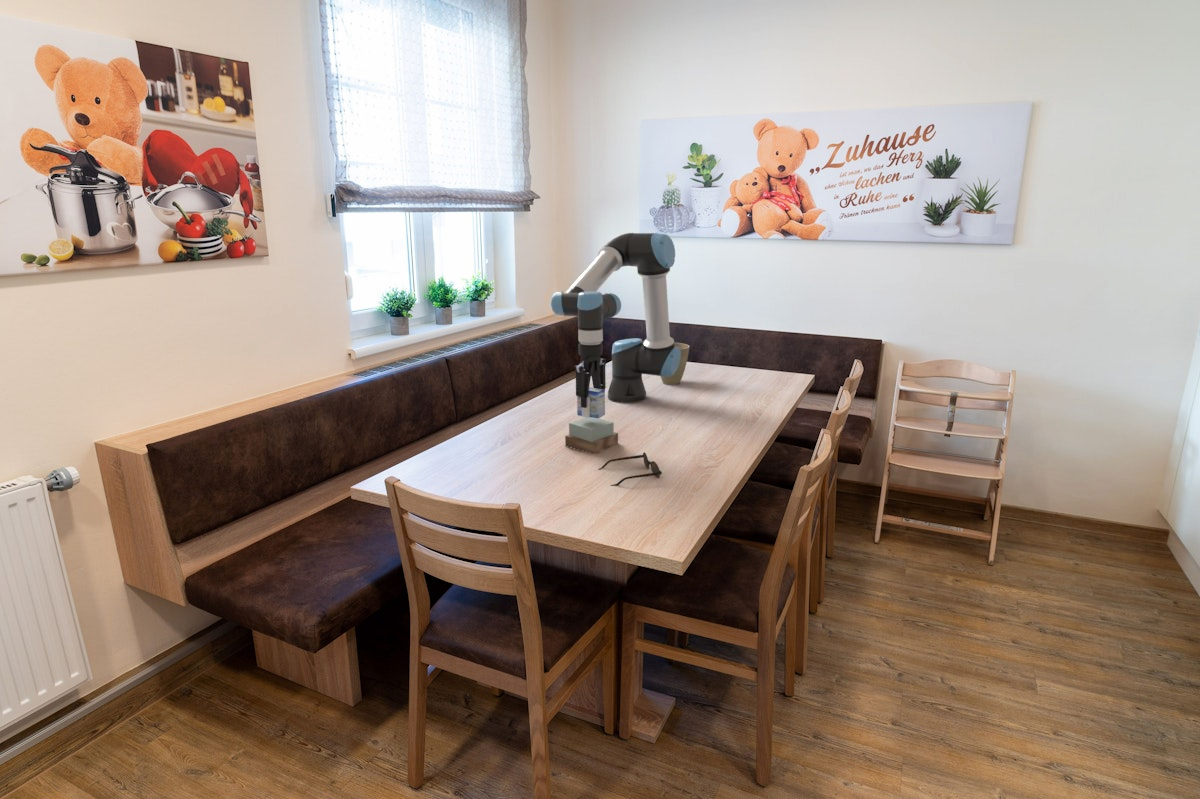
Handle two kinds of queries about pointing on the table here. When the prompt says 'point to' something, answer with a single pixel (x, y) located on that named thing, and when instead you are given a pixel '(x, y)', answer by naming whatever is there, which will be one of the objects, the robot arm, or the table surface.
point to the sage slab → (591, 429)
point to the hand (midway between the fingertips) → (591, 414)
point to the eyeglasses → (653, 465)
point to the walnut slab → (591, 443)
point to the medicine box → (594, 403)
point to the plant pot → (679, 373)
